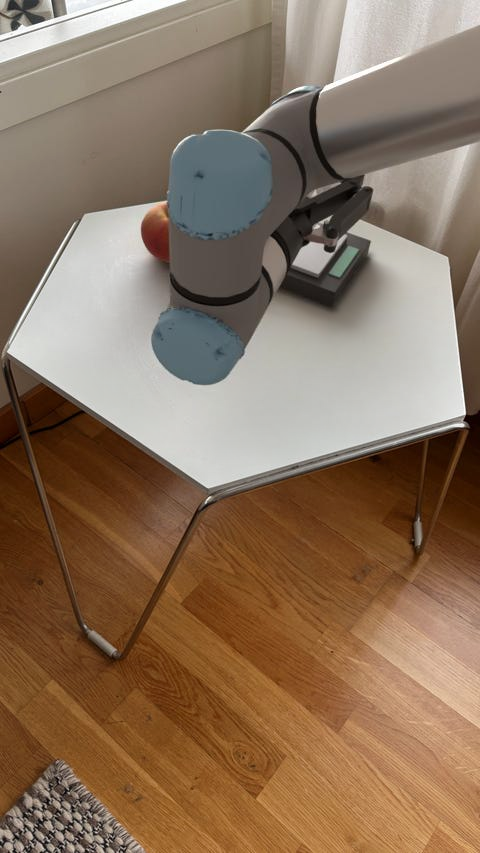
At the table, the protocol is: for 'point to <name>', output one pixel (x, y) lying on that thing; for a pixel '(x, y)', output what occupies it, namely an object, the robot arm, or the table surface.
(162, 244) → the apple
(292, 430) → the table surface
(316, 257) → the scale
